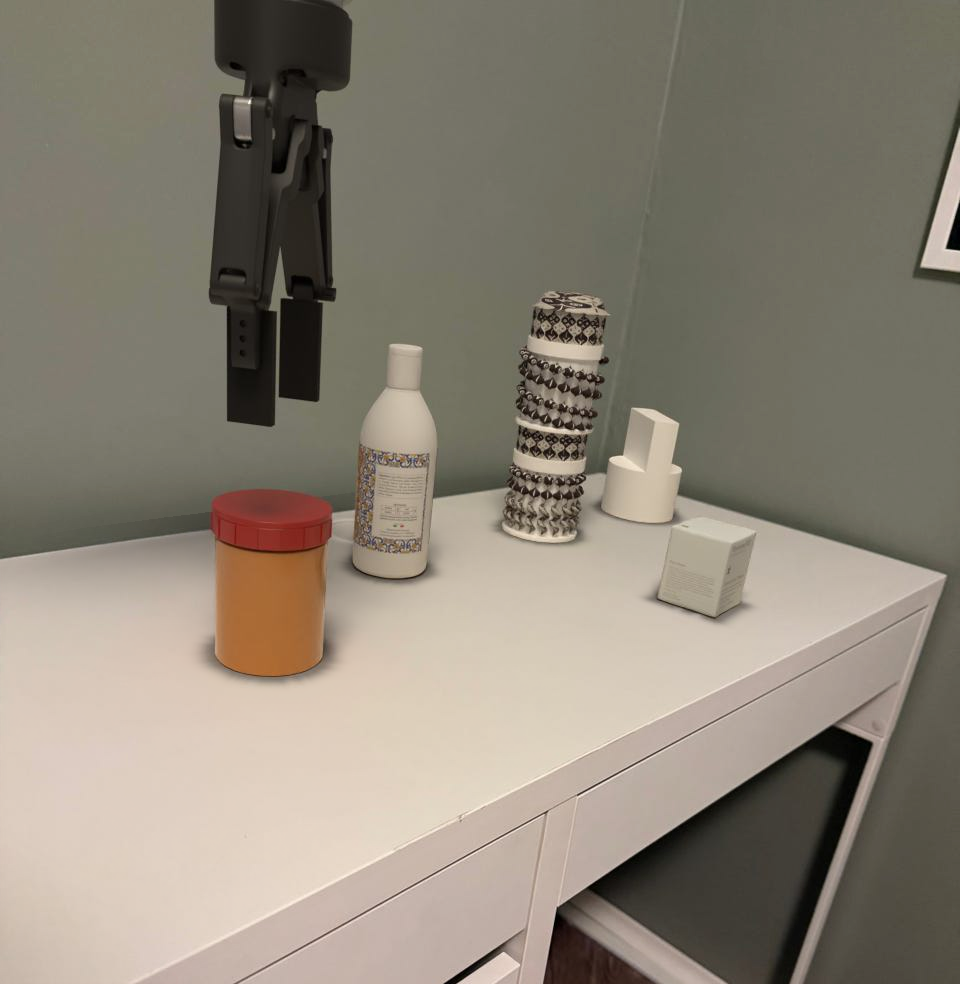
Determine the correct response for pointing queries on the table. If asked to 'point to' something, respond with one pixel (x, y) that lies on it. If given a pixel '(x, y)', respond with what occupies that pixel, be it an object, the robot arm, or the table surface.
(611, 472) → the cylinder with rectangular tab
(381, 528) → the bath foam
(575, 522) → the decorative candle
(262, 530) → the lid
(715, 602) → the product box
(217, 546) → the jam jar
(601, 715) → the table surface
